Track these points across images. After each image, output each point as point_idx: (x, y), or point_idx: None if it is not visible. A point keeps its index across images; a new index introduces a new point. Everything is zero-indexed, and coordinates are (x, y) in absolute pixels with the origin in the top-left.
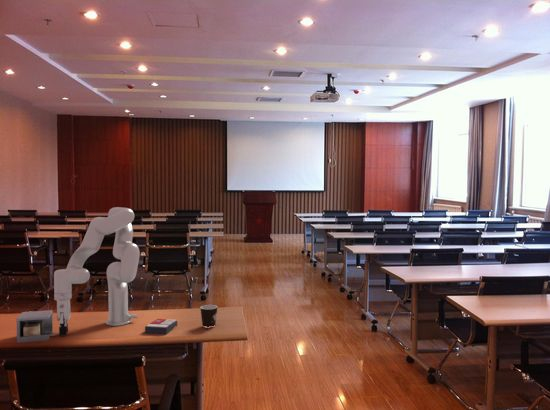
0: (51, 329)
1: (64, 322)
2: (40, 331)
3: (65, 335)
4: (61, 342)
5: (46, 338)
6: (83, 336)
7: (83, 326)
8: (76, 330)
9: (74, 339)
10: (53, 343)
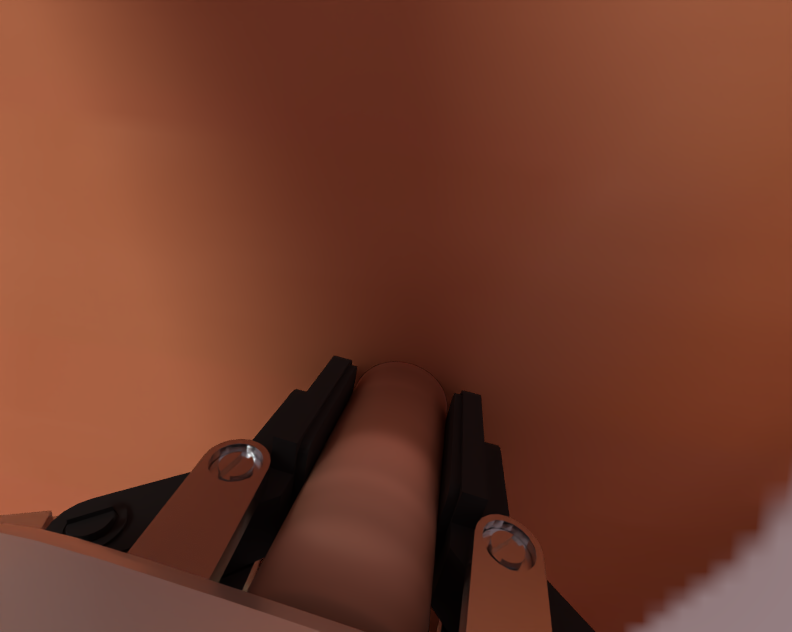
0: None
1: (427, 626)
2: None
3: (440, 390)
4: (761, 490)
5: None
6: (686, 116)
7: (33, 52)
8: (230, 200)
9: (759, 303)
10: (719, 569)
